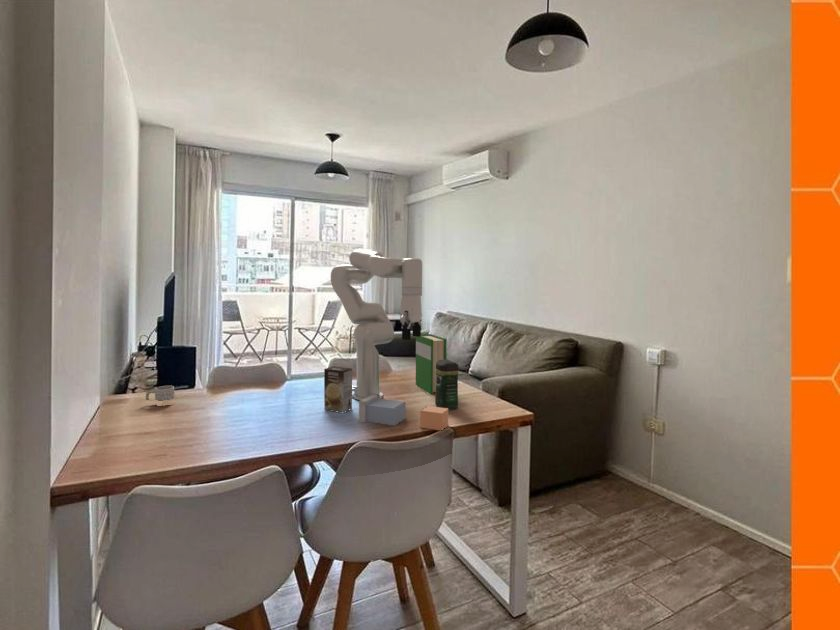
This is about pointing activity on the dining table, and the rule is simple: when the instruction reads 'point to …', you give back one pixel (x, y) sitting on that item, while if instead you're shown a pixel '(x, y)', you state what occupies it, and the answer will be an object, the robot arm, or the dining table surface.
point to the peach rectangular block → (434, 418)
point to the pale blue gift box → (381, 410)
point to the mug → (162, 393)
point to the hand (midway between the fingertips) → (411, 337)
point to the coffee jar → (446, 384)
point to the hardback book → (429, 360)
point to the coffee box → (338, 388)
